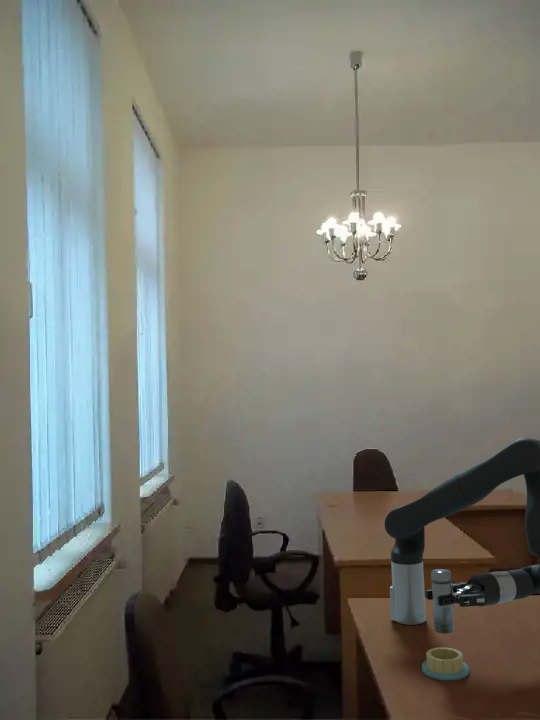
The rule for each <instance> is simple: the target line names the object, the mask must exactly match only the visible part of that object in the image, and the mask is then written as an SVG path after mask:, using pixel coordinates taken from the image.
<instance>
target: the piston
mask: <svg viewBox="0 0 540 720" xmlns="http://www.w3.org/2000/svg"><path fill="white" fill-rule="evenodd" d="M451 573H452V572H451V570H449V569H443V568H438V569H432V570H431V571H430V574H431V575H430V577H431V581H430V582H431V589H432V596H433V599H432V609H433V610H432V611H433V629H434V630H433V631H435V632H436V633H438V634H446V635H447V634H451V633H453V632H454V631H455V628H454V607H453V604H450V605H445V606H439V605H438V601H437V597H438V596H442V595H448V594H452V595H453V593H452V587H451V580H452V574H451Z"/></svg>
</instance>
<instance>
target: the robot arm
mask: <svg viewBox="0 0 540 720" xmlns="http://www.w3.org/2000/svg"><path fill="white" fill-rule="evenodd" d="M522 475H523V478H524V481H525V485H526V486H525V488H526V505H525V513H524V514H525V515H524V526H525V533H526V534H525V536H526V542H527V548H528V551H529V553H530V554H531V555H533V556H535V557H537V559H538V562H539V563H540V440H539V439H535V438H530V437H522V438H518V439H517V440H514V441H513V442H512V443H510V444H508V445H507V446H505V447H504V448H502V449H501V450H500V451H498V452H497V453H496V454H494V455H493V456H491V457H489V458H488V459H486V460H484V461H482V462H479V463H477V464H476V465H473V466H471V467H469V468H467V469H465V470H463V471H461V472H459V473H457V474H455V475H454V476H452V477H450V478H449V479H447V480H445V481H443V482H442V483H440V484H439V485H437V486H435V487H434V488H432V489H431V490H430V491H428V492H427V493H425V494H424V495H423V496H421V497H419V498H418V499H416V500H414V501H412V502H410V503H407V504H403V505H401V506H398V507H395V508H393V509H391V510H390V511H389V512H388V513H387V515H386V517H385V518H384V519H385V520H384V529H385V532H386V534H387V535H388V536H390V537H391V538H393V539H395V540H394V541H395V542H394V544H393V548H392V549H391V551H390V561H391V564H390V565H391V581H392V584H391V586H390V587H389V598H390V600H389V601H390V602H389V603H390V620H391V621H394V622H396V623H398V624H400V625H402V624H403V625H407V626H408V625H409V626H410V625H411V626H412V625H419V624H423V623H425V622H426V621H427V620H426V618H427V614H426V600H428V601H433V596H432V588H431V589H427V590H425V577H424V576H425V575H424V573H425V572H424V557H423V556H424V551H425V546H426V545H425V544H426V543H425V542H426V541H425V533H426V532H425V527H426V526H427V525H429V524H431V523H433V522H436V521H439V520H441V519H444V518H446V517H450V516H452V515H455V514H457V513H460V512H462V511H463V510H464V511H465V510H466V509H468V508H470V507H472V506H474V505H476V504H477V503H480V502H482V500H484V499H485V498H487V497H488V496H489V495H490V494H491V493H492V492H493V491H494V490H495V489H496V488H497V487H499V486H500V485H502V484H504V483H506V482H508V481H510V480H512V479H514V478H518V477H520V476H522ZM451 587H452V594H448V595H442V596H438V597H437V601H438V605H439V606H445V605H450V604H452V605H454V606H458V605H459V607H461V608H466V607H481V608H482V607H488V606H493V605H498V604H499V605H500V604H504V603H508V602H511V601H514V600H515V601H516V600H520V599H525V598H528V597H529V596H531V595H532V594H540V564H533V565H528V566H524V567H521V568H517V569H511V570H510V569H509V570H505V571H504V570H502V571H491V572H486V573H478V574H477V573H476V574H473V575H471V576H470V577H469V579H468V582H459V583H456V582H455V580H452V579H451Z"/></svg>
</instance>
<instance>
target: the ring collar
mask: <svg viewBox="0 0 540 720" xmlns="http://www.w3.org/2000/svg"><path fill="white" fill-rule="evenodd" d="M425 654H426V656H425V657H426V658H425V659H426V660H424V661H423V662H422V664H421V671H422V673H423V674H424V675H425V676H427V677H429V678H430V679H434V680H439V681H446V682H447V681H448V682H449V681H458V680H462V679H465V678H466V677H468V676H469V673H470V668H469V665H468V664H467V663H466V662H464V655H463V653H462V652H461V650H458V649H456V648H451V647H445V646H444V647H434V648H429V649H428V650H427V651H426V653H425Z"/></svg>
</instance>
